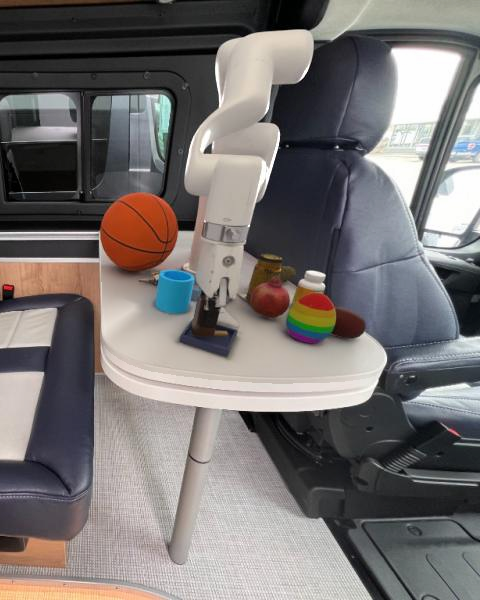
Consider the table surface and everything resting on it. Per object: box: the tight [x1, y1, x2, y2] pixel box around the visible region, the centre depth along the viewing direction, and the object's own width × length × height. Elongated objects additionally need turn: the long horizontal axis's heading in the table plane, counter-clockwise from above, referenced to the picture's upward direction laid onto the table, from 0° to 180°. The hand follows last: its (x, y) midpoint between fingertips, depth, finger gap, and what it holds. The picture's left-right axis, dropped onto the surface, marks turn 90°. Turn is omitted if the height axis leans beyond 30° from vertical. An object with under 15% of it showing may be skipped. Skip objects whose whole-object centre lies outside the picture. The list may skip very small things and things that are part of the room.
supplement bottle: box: [290, 270, 326, 308], centre depth 78 cm, size 5×5×10 cm
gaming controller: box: [217, 306, 240, 331], centre depth 72 cm, size 10×4×7 cm
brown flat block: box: [191, 295, 228, 337], centre depth 64 cm, size 2×7×8 cm, turn 86°
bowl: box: [191, 276, 234, 305], centre depth 87 cm, size 13×13×3 cm
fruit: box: [249, 277, 291, 319], centre depth 74 cm, size 8×8×10 cm
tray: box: [178, 318, 239, 358], centre depth 66 cm, size 9×9×2 cm
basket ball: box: [99, 191, 179, 272], centre depth 100 cm, size 24×24×24 cm
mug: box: [154, 269, 195, 315], centre depth 80 cm, size 12×8×8 cm
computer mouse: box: [138, 270, 162, 287], centre depth 92 cm, size 7×15×4 cm, turn 88°
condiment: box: [238, 253, 284, 304], centre depth 82 cm, size 7×8×12 cm
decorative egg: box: [285, 293, 336, 344], centre depth 66 cm, size 8×8×10 cm
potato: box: [330, 305, 367, 340], centre depth 68 cm, size 8×9×6 cm
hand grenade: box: [279, 265, 296, 284], centre depth 97 cm, size 5×6×10 cm
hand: (204, 322), depth 65 cm, fingers closed on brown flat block, 2 cm apart
